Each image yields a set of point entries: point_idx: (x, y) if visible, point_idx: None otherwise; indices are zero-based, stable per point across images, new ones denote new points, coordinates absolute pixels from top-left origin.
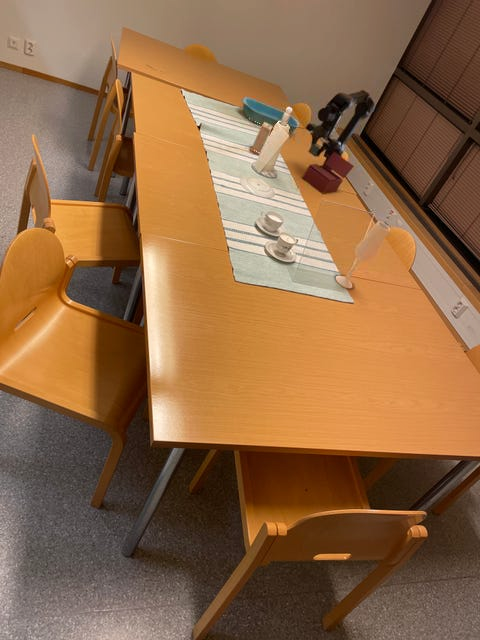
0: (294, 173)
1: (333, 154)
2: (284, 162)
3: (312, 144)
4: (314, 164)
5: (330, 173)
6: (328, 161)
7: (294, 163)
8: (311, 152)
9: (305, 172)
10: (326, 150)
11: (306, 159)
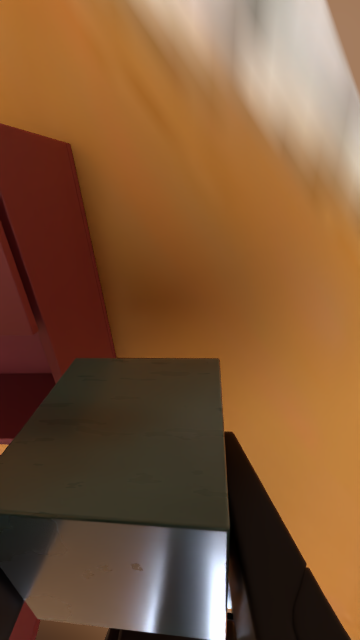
0: (142, 96)
1: (19, 629)
2: (341, 167)
3: (211, 499)
4: (3, 262)
5: (3, 422)
6: None
7: (298, 311)
8: (152, 370)
9: (35, 134)
10: (227, 634)
11: (315, 482)
